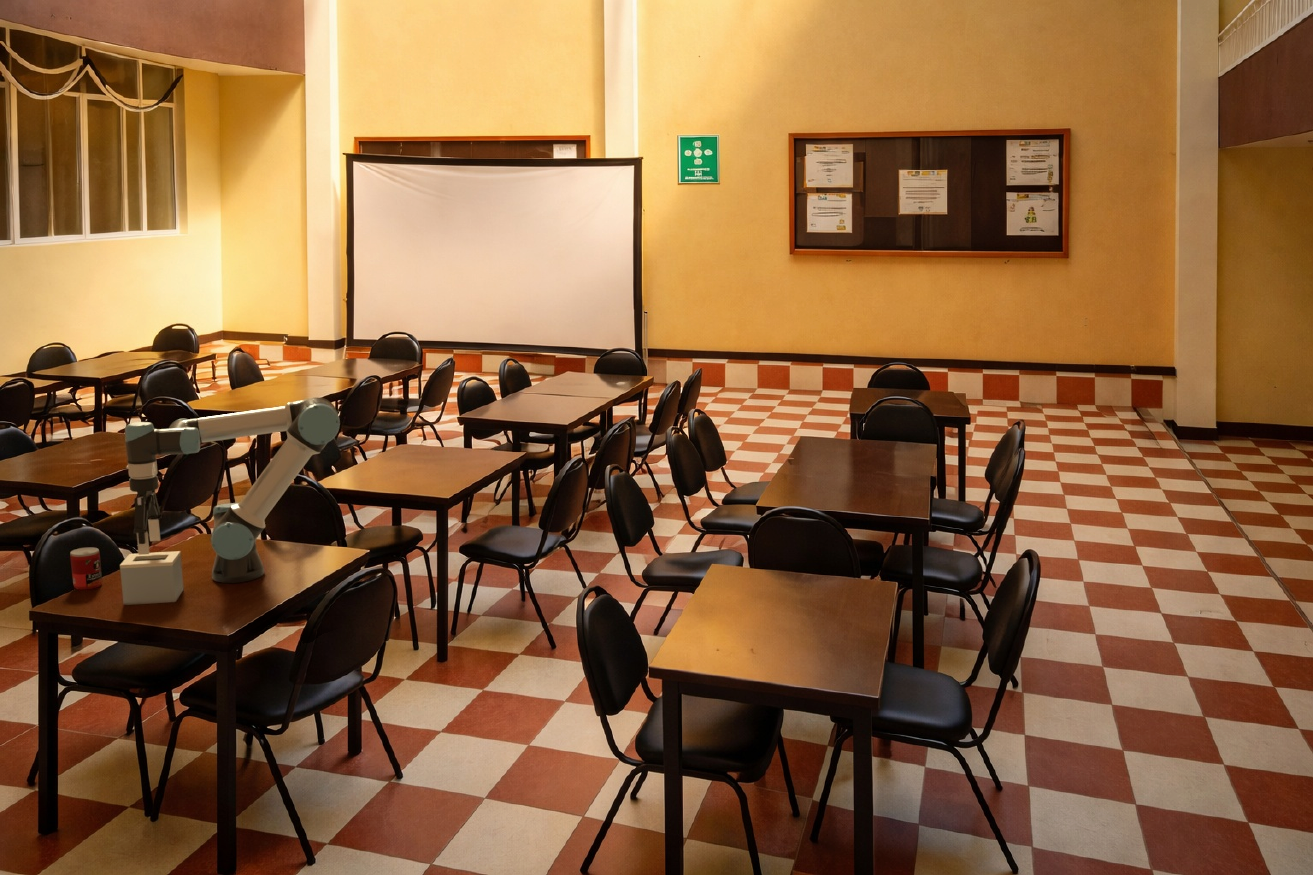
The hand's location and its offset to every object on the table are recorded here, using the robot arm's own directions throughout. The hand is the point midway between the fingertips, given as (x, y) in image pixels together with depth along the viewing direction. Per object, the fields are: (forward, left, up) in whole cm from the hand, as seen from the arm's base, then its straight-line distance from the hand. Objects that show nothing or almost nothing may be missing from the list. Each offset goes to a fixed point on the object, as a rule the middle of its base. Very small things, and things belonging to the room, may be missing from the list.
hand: (149, 547), depth 318 cm
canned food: (+22, -15, -15) cm, 31 cm away
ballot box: (0, 0, -15) cm, 15 cm away
